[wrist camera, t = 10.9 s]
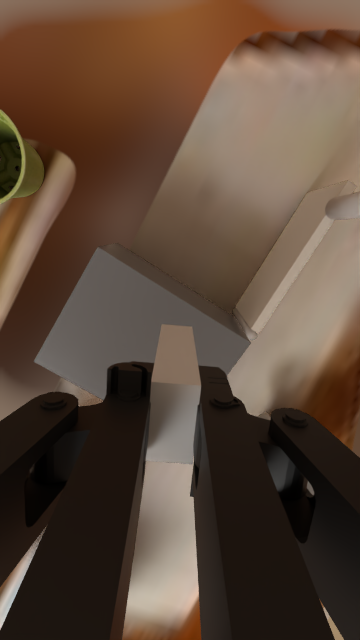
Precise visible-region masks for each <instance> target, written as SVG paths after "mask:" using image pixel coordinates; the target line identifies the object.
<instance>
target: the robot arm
mask: <svg viewBox="0 0 360 640" xmlns="http://www.w3.org/2000/svg"><path fill="white" fill-rule="evenodd" d="M193 455H194V466H193V475H192V483H191V492H190V496H191V497H194V512H195V530H196V548H197V566H198V584H199V602H200V620H201V638H202V640H335V639H334V636H333V634H332V631H331V628H330V626H329V623H328V621H327V618H326V616H325V613H324V610H323V608H322V605H321V603H320V600H321V602H322V604H323V605H324V607H325V609H326V610H327V612H328V614H329V615H330V617H331V618H332V620H333V622H334V623H335V625H336V627H337V628H338V630H339V632H340V633H341V635H342V637H343V638H344V640H360V458H359V457H358V456H357V455H356V454H355V453H353V452H352V451H351V450H350V449H349V448H348V447H347V446H345V445H344V444H343V443H342V442H341V441H340V440H339V439H337V438H336V437H335V436H334V435H333V434H332V433H331V432H329V431H328V430H327V429H326V428H325V427H324V426H322V425H321V424H320V423H319V422H318V421H317V420H316V419H314V418H313V417H311V416H310V415H308V414H306V413H304V412H302V411H300V410H297V409H295V410H294V409H292V408H288V409H287V408H281V409H276V410H274V411H273V412H272V414H271V420H267V419H263V418H259V417H256V416H253V415H250V414H248V413H247V411H246V408H245V406H244V404H243V403H242V401H241V400H239V399H238V398H236V397H234V396H233V394H232V391H231V388H230V385H229V382H228V380H227V376H226V373H225V372H224V371H223V370H221V369H220V368H219V367H211V366H199V365H198V361H197V355H196V348H195V342H194V335H193V329H192V327H190V326H178V325H166V324H162V326H161V331H160V336H159V342H158V347H157V352H156V358H155V363H149V362H137V361H131V362H122V363H116V364H114V365H111V366H110V367H109V368H108V369H107V389H106V396H105V398H104V401H103V402H102V403H99V404H96V405H90V406H80V407H78V399H77V398H76V397H75V396H74V395H71V394H68V393H62V392H50V393H47V394H43V395H40V396H38V397H36V398H34V399H32V400H30V401H29V402H28V403H26V404H25V405H23V406H22V407H20V408H19V409H17V410H16V411H14V412H13V413H11V414H10V415H9V416H7V417H6V418H4V419H3V420H1V421H0V587H1V585H2V584H3V583H4V581H5V580H6V579H7V577H8V576H9V575H10V573H11V572H12V571H13V569H14V568H15V567H16V565H17V564H18V563H19V561H20V560H21V559H22V557H23V556H24V555H25V553H26V552H27V551H28V549H29V548H30V547H31V545H32V544H33V543H34V541H35V540H36V539H37V537H38V536H39V535H40V534H41V532H42V531H43V530H44V528H45V527H46V526H47V528H46V530H45V532H44V534H43V536H42V539H41V541H40V543H39V545H38V548H37V550H36V552H35V554H34V556H33V559H32V561H31V563H30V565H29V568H28V570H27V572H26V574H25V576H24V579H23V581H22V583H21V585H20V588H19V590H18V592H17V594H16V597H15V599H14V601H13V603H12V605H11V608H10V610H9V612H8V614H7V617H6V619H5V621H4V623H3V625H2V628H1V630H0V640H122V635H123V628H124V620H125V613H126V606H127V598H128V591H129V584H130V577H131V569H132V562H133V555H134V548H135V540H136V533H137V526H138V518H139V511H140V504H141V497H142V489H143V482H144V475H145V463H146V461H153V462H167V463H181V464H193ZM308 481H309V483H310V485H311V486H312V488H313V491H314V495H312V494H311V493H310V491H309V490H308V489H307V484H308ZM47 524H48V525H47ZM319 599H320V600H319Z"/></svg>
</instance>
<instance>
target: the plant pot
mask: <svg viewBox="0 0 360 640" xmlns="http://www.w3.org/2000/svg"><path fill="white" fill-rule="evenodd" d="M17 146H20V149H19V148H16V147H17ZM0 156H1V161H0V204H2V203H4V202H6V201H8V200H9V199H10V198H17V197H26V196H29V195H31V194H33V193H34V192H36V191H37V190H38V189H39V188H40V186H41V184H42V182H43V179H44V166H43V163H42V160H41V158H40V156H39V155H38V153H37V152H36V150H35V149H34V148H33V147H32V146H31V145H29V144H28V143H27V142H26V141H25V140H24V139H23V138H22V137H21V135H20V133H19V131H18V129H17V127H16V126H15V124H14V123H13V121H12V120H11V119H10V118H9V117H8V116H7V115H6V114H5V113H4V112H3V111H2V110H1V109H0ZM16 166H18V167H19V171H16V170H15V167H16ZM9 186H12V187H14V188H13V190H11V189H10V188H9Z"/></svg>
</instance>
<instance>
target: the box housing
mask: <svg viewBox="0 0 360 640" xmlns="http://www.w3.org/2000/svg"><path fill="white" fill-rule="evenodd" d="M162 324H166V325H178V326H190V327H192V329H193V335H194V342H195V348H196V355H197V361H198V365H199V366H211V367H219V368H220V369H221V370H223V371H224V372H225V373H226V376H227V375H228V373H229V372H230V371H231V369H232V368H233V367H234V365H235V364H236V363H237V361H238V360H239V358H240V357H241V356H242V354H243V353H244V352H245V350H246V349H247V348H248V346H249V345H250V344H251V342H250V341H249V339H248V337H247V336H246V334H245V333H244V331H243V329H242V328H241V326H240V324H239V323H238V321H237V319H236V318H235V317H233V316H232V315H230V314H229V313H227V312H225V311H224V310H222V309H221V308H219V307H218V306H216V305H214V304H213V303H211V302H210V301H208V300H207V299H205V298H203V297H202V296H200V295H199V294H197V293H196V292H194V291H192V290H191V289H189V288H188V287H186V286H185V285H183V284H181V283H180V282H178V281H177V280H175V279H174V278H172V277H170V276H169V275H167V274H166V273H164V272H163V271H161V270H159V269H158V268H156V267H155V266H153V265H152V264H150V263H148V262H147V261H145V260H144V259H142V258H141V257H139V256H137V255H136V254H134V253H133V252H131V251H129V250H128V249H126V248H125V247H123V246H122V245H120V244H118V243H115V244H110V245H104V246H99V247H97V249H96V251H95V253H94V254H93V256H92V258H91V260H90V262H89V263H88V265H87V267H86V269H85V271H84V272H83V274H82V276H81V278H80V280H79V281H78V283H77V285H76V287H75V289H74V291H73V292H72V294H71V296H70V298H69V299H68V301H67V303H66V305H65V307H64V308H63V310H62V312H61V314H60V315H59V317H58V319H57V321H56V323H55V324H54V326H53V328H52V330H51V332H50V333H49V335H48V337H47V339H46V340H45V342H44V344H43V346H42V348H41V350H40V351H39V353H38V355H37V357H36V359H35V360H34V362H35V363H37V364H39V365H41V366H43V367H44V368H46V369H48V370H50V371H52V372H54V373H55V374H57V375H59V376H61V377H62V378H64V379H66V380H68V381H70V382H71V383H73V384H75V385H77V386H79V387H80V388H82V389H84V390H86V391H88V392H89V393H91V394H93V395H95V396H97V397H98V398H100V399H102V400H104V398H105V396H106V389H107V369H108V368H109V367H110V366H111V365H114V364H116V363H122V362H131V361H137V362H149V363H155V358H156V352H157V347H158V342H159V336H160V331H161V326H162Z"/></svg>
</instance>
